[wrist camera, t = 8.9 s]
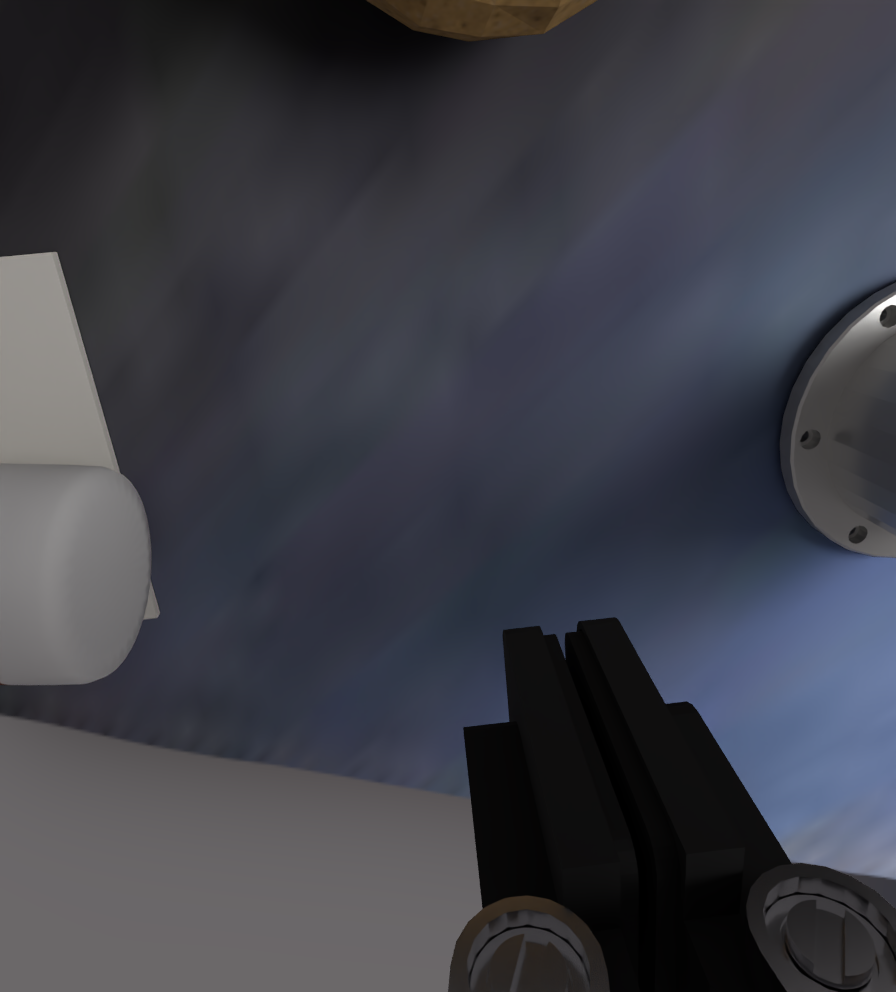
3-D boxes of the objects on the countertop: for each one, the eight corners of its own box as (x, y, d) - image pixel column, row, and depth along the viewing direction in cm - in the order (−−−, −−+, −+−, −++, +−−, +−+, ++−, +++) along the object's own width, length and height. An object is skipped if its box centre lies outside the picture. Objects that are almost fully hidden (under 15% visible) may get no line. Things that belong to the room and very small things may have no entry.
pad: (57, 252, 24) (51, 252, 23) (160, 613, 29) (157, 617, 29) (-175, 274, 23) (-184, 274, 23) (-27, 636, 29) (-32, 641, 28)
